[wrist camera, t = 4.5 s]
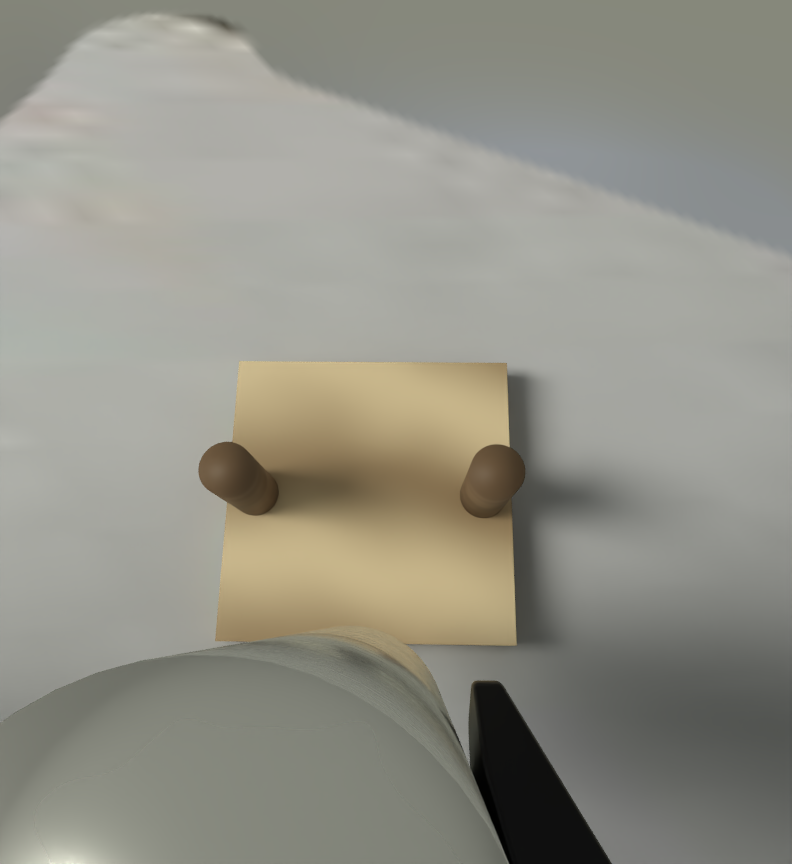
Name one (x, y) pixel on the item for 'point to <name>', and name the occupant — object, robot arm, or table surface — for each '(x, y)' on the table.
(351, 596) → the peg rack
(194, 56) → the table surface
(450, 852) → the silver metal cylinder
